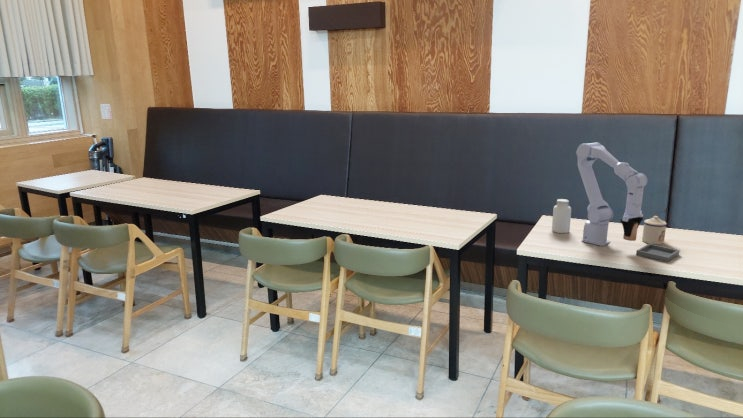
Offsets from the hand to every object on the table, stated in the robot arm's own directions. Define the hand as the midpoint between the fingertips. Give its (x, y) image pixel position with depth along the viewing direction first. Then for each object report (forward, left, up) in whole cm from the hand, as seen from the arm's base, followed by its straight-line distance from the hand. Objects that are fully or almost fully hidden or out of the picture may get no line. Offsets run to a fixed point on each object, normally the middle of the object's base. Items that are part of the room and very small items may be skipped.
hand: (630, 234), depth 227 cm
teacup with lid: (+2, +23, -8) cm, 24 cm away
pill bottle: (-34, +7, -8) cm, 36 cm away
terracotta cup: (0, 0, -2) cm, 2 cm away
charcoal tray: (+10, +4, -7) cm, 13 cm away
